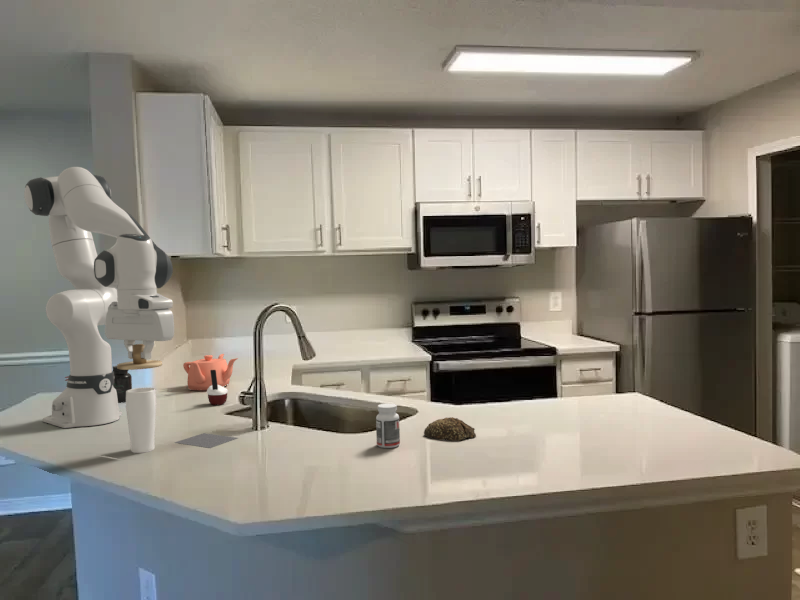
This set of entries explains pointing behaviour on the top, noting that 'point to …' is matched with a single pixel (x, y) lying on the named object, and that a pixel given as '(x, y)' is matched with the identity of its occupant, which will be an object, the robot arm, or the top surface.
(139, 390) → the drinking glass
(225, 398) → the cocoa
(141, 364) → the lid
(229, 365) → the pot
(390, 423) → the pill bottle
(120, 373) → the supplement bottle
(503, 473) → the top surface
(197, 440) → the mat
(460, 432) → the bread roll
